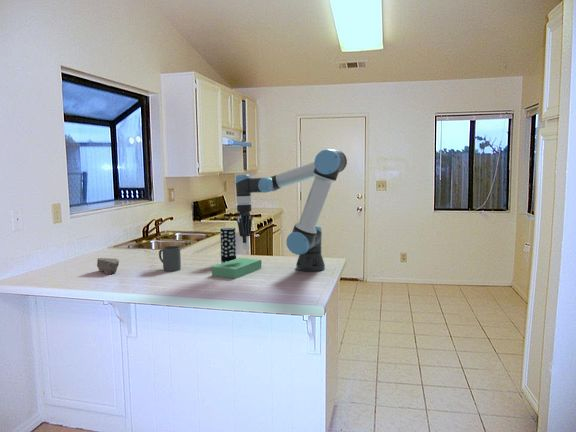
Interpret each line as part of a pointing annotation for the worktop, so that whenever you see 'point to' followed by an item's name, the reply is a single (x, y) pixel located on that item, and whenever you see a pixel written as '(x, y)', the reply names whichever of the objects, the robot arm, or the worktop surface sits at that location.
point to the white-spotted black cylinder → (228, 244)
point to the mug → (171, 258)
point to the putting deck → (236, 267)
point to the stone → (107, 265)
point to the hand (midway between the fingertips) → (246, 248)
